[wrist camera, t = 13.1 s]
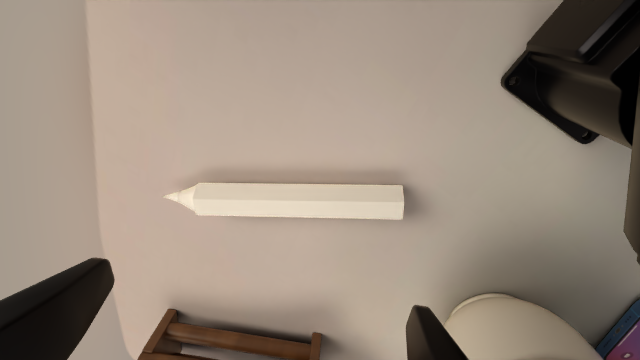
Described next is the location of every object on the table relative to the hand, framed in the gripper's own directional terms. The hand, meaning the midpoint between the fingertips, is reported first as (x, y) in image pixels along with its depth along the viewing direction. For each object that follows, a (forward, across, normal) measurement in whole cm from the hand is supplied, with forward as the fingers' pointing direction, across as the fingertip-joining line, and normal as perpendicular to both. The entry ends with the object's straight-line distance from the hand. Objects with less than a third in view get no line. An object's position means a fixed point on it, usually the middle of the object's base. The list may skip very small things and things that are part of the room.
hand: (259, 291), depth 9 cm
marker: (+12, +2, +4) cm, 13 cm away
